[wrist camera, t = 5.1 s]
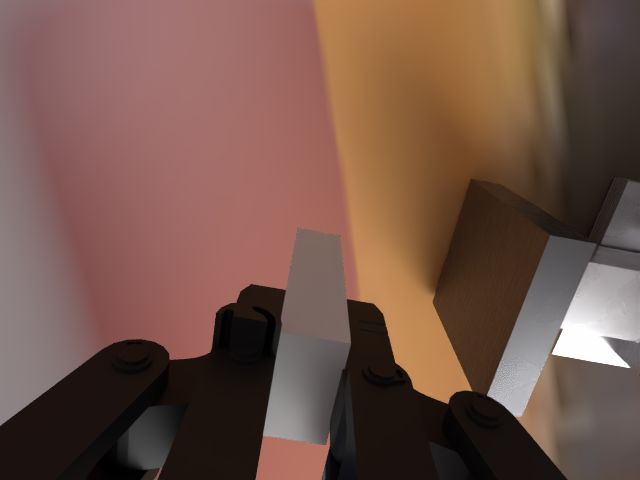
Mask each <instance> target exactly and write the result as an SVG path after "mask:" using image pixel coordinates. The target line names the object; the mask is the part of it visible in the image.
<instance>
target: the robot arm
mask: <svg viewBox="0 0 640 480" xmlns="http://www.w3.org/2000/svg"><path fill="white" fill-rule="evenodd" d="M329 431H330V449H329V452H328V456H327V460H326V464H325V468H324V472H323V476H322V480H567V479H566V477H565V476H564V475H563V474H562V473H561V471H560V470H559V469H558V468H557V467H556V465H555V464H554V463H553V462H552V461H551V459H550V458H549V457H548V456H547V455H546V454H545V452H544V451H543V450H542V449H541V448H540V446H539V445H538V444H537V443H536V442H535V440H534V439H533V438H532V437H531V436H530V434H529V433H528V432H527V431H526V430H525V429H524V427H523V426H522V425H521V424H520V423H519V421H518V420H517V419H516V418H515V417H514V415H513V414H512V413H511V412H510V411H509V410H508V409H507V408H506V407H504V406H503V405H502V404H501V403H499V402H498V401H496V400H494V399H493V398H491V397H489V396H487V395H484V394H482V393H478V392H473V391H460V392H456V393H455V394H454V395H453V396H451V397H450V400H449V403H448V404H446V403H444V402H441V401H439V400H436V399H433V398H431V397H428V396H426V395H424V394H422V393H420V392H418V391H416V390H415V389H413V385H412V382H411V379H410V377H409V376H408V374H407V372H406V371H405V370H404V369H403V368H401V367H400V366H399V365H398V364H396V363H395V360H394V356H393V352H392V348H391V344H390V340H389V336H388V332H387V328H386V324H385V320H384V316H383V313H382V312H381V311H380V310H379V309H378V308H377V307H376V306H375V305H374V304H372V303H366V302H360V301H354V300H348V299H347V298H346V288H345V278H344V268H343V259H342V248H341V238H340V235H335V234H329V233H324V232H318V231H313V230H307V229H302V228H298V229H297V233H296V239H295V245H294V250H293V255H292V261H291V266H290V272H289V277H288V283H287V288H286V290H283V289H277V288H271V287H265V286H259V285H253V284H251V285H250V286H248V287H246V288H245V289H244V290H242V291H241V292H240V295H239V297H238V300H237V303H230V304H228V305H226V306H224V307H221V309H220V310H219V311H218V312H217V313H216V318H215V327H214V335H213V344H212V349H211V352H210V353H208V354H206V355H204V356H200V357H197V358H190V359H179V360H170V359H169V353H168V352H167V350H166V349H165V348H164V347H163V346H161V345H159V344H157V343H155V342H152V341H147V340H142V339H136V340H125V341H121V342H117V343H113V344H112V345H110V346H108V347H106V348H104V349H102V350H101V351H99V352H98V353H97V354H95V355H94V356H93V357H92V358H90V359H89V360H87V361H86V362H85V363H83V364H82V365H81V366H79V367H78V368H77V369H75V370H74V371H73V372H71V373H70V374H69V375H67V376H66V377H65V378H63V379H62V380H61V381H59V382H58V383H57V384H55V385H54V386H53V387H51V388H50V389H49V390H47V391H46V392H45V393H43V394H42V395H41V396H39V397H38V398H37V399H36V400H34V401H33V402H31V403H30V404H29V405H28V406H26V407H25V408H23V409H22V410H21V411H19V412H18V413H17V414H15V415H14V416H13V417H11V418H10V419H9V420H7V421H6V422H5V423H3V424H2V425H1V426H0V480H154V479H155V477H156V476H157V474H158V472H159V470H160V468H161V467H163V468H162V470H161V473H160V475H159V477H158V480H255V479H256V473H257V467H258V462H259V456H260V449H261V444H262V438H263V436H269V437H276V438H283V439H289V440H295V441H302V442H309V443H315V444H322V445H326V443H327V439H328V434H329Z"/></svg>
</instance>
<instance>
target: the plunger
mask: <svg viewBox="0 0 640 480" xmlns="http://www.w3.org/2000/svg"><path fill="white" fill-rule="evenodd" d="M596 245H597V244H596V243H594V242H593V241H591V240H590V239H588V238H586V237H585V236H583V235H581V234H580V233H578V232H577V231H575V230H573V229H572V228H570V227H569V226H567V225H565V224H564V223H562V222H560V221H559V220H557V219H556V218H554V217H552V216H551V215H549V214H548V213H546V212H544V211H543V210H541V209H539V208H538V207H536V206H535V205H533V204H531V203H530V202H528V201H526V200H525V199H523V198H522V197H520V196H518V195H517V194H515V193H514V192H512V191H510V190H509V189H507V188H505V187H504V186H502V185H500V184H494V183H489V182H484V181H479V180H474V179H471V181H470V184H469V187H468V190H467V194H466V197H465V200H464V203H463V206H462V210H461V213H460V216H459V219H458V222H457V226H456V229H455V232H454V235H453V238H452V242H451V245H450V248H449V251H448V255H447V258H446V261H445V264H444V267H443V271H442V274H441V277H440V280H439V283H438V287H437V290H436V293H435V296H434V299H433V305H434V307H435V309H436V311H437V314H438V316H439V318H440V320H441V322H442V325H443V327H444V329H445V331H446V333H447V336H448V338H449V340H450V342H451V344H452V347H453V349H454V351H455V353H456V356H457V358H458V360H459V362H460V364H461V367H462V369H463V371H464V373H465V375H466V378H467V380H468V382H469V384H470V386H471V389H472V391H473V392H478V393H482V394H484V395H487V396H489V397H491V398H493V399H494V400H496V401H498V402H499V403H501V404H502V405H503V406H504V407H506V408H507V409H508V410H509V411H510V412H511V413H512V414H513V415H514V416H518V417H521V416H522V414H523V412H524V409H525V407H526V405H527V402H528V400H529V398H530V396H531V393H532V391H533V389H534V387H535V384H536V382H537V380H538V377H539V375H540V373H541V371H542V368H543V366H544V364H545V361H546V359H547V357H548V355H549V352H550V350H551V348H552V345H553V343H554V341H555V339H556V336H557V334H558V332H559V329H560V328H562V329H568V330H573V331H579V332H584V333H590V334H596V335H601V336H607V337H612V338H618V339H623V340H629V341H634V342H640V254H639V253H634V252H628V251H623V250H618V249H612V248H607V247H602V246H596Z"/></svg>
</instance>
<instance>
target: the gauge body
mask: <svg viewBox="0 0 640 480" xmlns="http://www.w3.org/2000/svg"><path fill="white" fill-rule="evenodd" d="M588 239H590V240H591V241H593V242H594V243H596V244H597V245H596V246H602V247H607V248H612V249H618V250H623V251H628V252H634V253H639V254H640V181H637V180H632V179H626V178H621V177H616V176H614V178H613V181H612V183H611V185H610V188H609V190H608V192H607V195H606V197H605V199H604V202H603V204H602V206H601V209H600V211H599V213H598V216H597V218H596V220H595V223H594V225H593V227H592V230H591V232H590V234H589V237H588ZM550 352H551V353H552V354H555V355H561V356H566V357H572V358H578V359H583V360H589V361H595V362H600V363H606V364H611V365H617V366H623V367H628V368H631V369H633V370H634V371H635V372H636V373H637V374H638V375H639V376H640V342H634V341H629V340H623V339H618V338H612V337H607V336H601V335H596V334H590V333H584V332H579V331H573V330H568V329H562V328H560V329H559V332H558V334H557V336H556V339H555V341H554V343H553V345H552V348H551V350H550Z"/></svg>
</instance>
